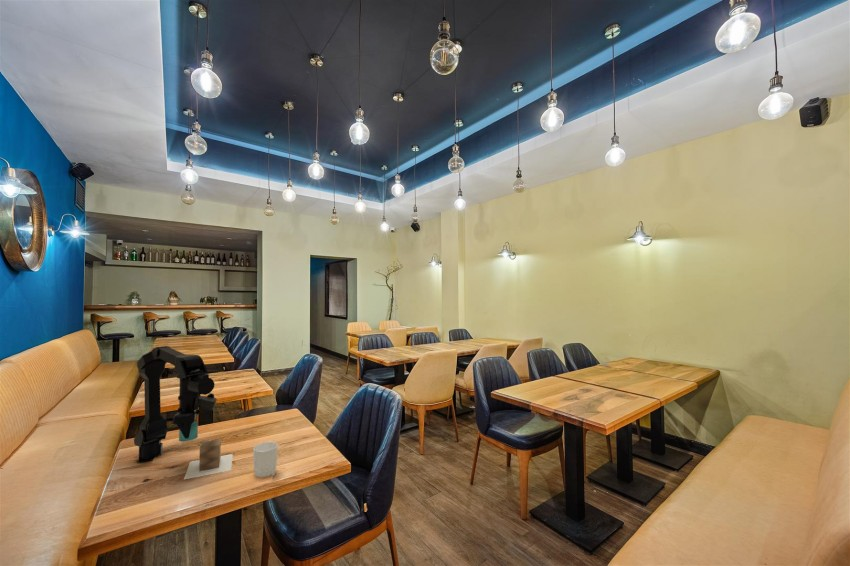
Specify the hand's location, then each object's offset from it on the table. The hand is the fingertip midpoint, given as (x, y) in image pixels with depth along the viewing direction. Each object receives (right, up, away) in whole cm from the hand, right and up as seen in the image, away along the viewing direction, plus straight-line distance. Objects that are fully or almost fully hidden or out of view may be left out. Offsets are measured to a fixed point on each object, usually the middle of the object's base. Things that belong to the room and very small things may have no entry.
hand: (188, 435), depth 124 cm
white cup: (+28, -14, -2) cm, 31 cm away
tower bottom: (+6, -12, +3) cm, 14 cm away
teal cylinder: (0, -1, 0) cm, 1 cm away
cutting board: (+6, -13, +3) cm, 15 cm away
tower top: (+6, -8, +3) cm, 11 cm away
